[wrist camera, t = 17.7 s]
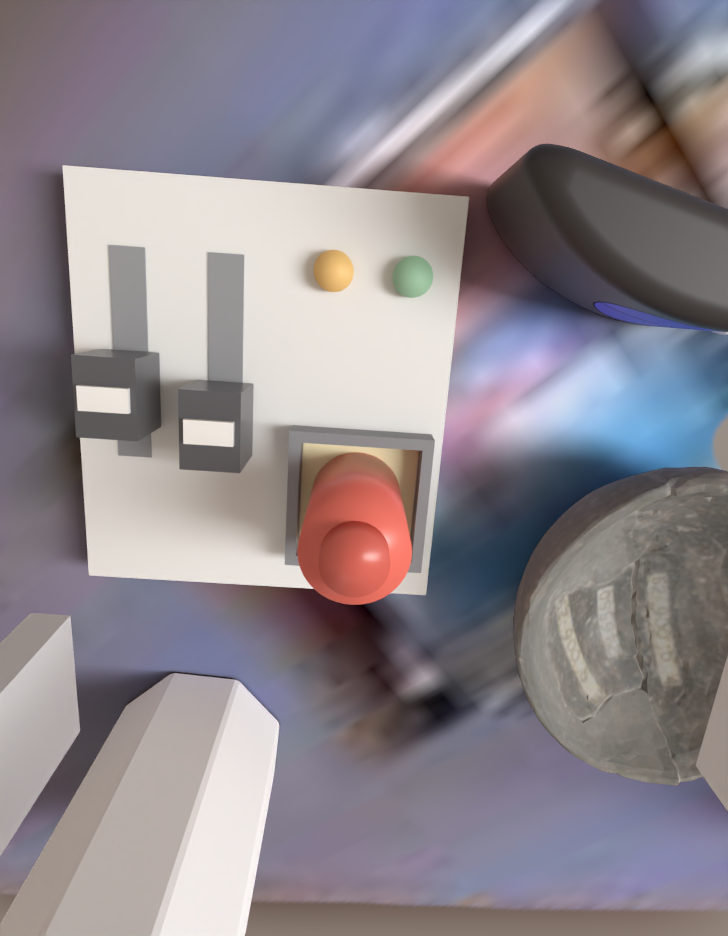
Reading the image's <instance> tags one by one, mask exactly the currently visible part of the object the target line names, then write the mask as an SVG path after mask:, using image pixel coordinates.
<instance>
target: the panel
mask: <svg viewBox="0 0 728 936" xmlns="http://www.w3.org/2000/svg"><path fill="white" fill-rule="evenodd" d="M63 181H64V196H65V212H66V227H67V242H68V258H69V273H70V289H71V304H72V320H73V335H74V351H75V354H77V353H82V352H88V351H93V350H98V349H112V350H126V351H141V352H155V353H159V361H160V400H161V427H160V428H158V429H157V430H155V431H154V432H152V433H151V434H149V435H147V436H146V437H144V438H143V439H141V440H139V441H123V440H108V439H92V438H80V444H81V459H82V475H83V490H84V506H85V521H86V537H87V552H88V567H89V575H91V576H108V577H125V578H142V579H159V580H176V581H193V582H210V583H226V584H243V585H260V586H277V587H294V588H311V589H314V588H313V587H312V586H311V585H310V584H309V583H308V582H307V580H306V579H305V577H304V576H303V573H302V571H301V569H300V566H299V562H298V556H297V548H298V541H299V537H300V533H301V529H302V526H303V522H304V518H305V514H306V510H307V507H308V503H309V499H310V495H311V491H312V487H313V484H314V480H315V478H316V476H317V474H318V472H319V471H320V470H321V468H322V467H323V466H324V465H325V464H326V463H327V462H329V461H330V460H331V459H333V458H335V457H337V456H339V455H342V454H346V453H353V452H360V453H366V454H370V455H373V456H375V457H377V458H379V459H381V460H382V461H383V462H385V463H386V464H387V465H388V466H389V467H390V468H391V469H392V471H393V472H394V474H395V476H396V478H397V480H398V483H399V487H400V492H401V497H402V501H403V506H404V511H405V516H406V520H407V525H408V530H409V535H410V540H411V545H412V559H411V564H410V567H409V570H408V572H407V574H406V576H405V578H404V579H403V581H402V582H401V584H400V585H399V586H398V587H397V588H396V589H395V590H394V591H392V592H391V593H396V594H412V595H426V590H427V581H428V572H429V563H430V553H431V544H432V535H433V526H434V517H435V507H436V498H437V489H438V480H439V471H440V461H441V452H442V443H443V434H444V425H445V415H446V406H447V397H448V388H449V379H450V369H451V360H452V351H453V342H454V333H455V323H456V314H457V305H458V296H459V287H460V277H461V268H462V259H463V250H464V241H465V231H466V222H467V213H468V204H469V197H466V196H453V195H440V194H427V193H414V192H401V191H388V190H375V189H362V188H349V187H336V186H323V185H310V184H297V183H284V182H271V181H258V180H245V179H232V178H219V177H206V176H193V175H180V174H167V173H154V172H141V171H128V170H115V169H103V168H90V167H77V166H64V165H63ZM196 380H208V381H223V382H238V383H252V384H254V388H253V445H252V457H251V458H250V459H249V461H248V462H247V464H246V465H245V467H244V468H243V470H242V471H241V472H240V473H229V472H213V471H198V470H182V469H179V418H178V389H179V388H181V387H184V386H186V385H188V384H190V383H192V382H194V381H196Z"/></svg>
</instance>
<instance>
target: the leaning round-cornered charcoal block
mask: <svg viewBox="0 0 728 936" xmlns="http://www.w3.org/2000/svg"><path fill="white" fill-rule="evenodd" d="M486 202H487V207H488V211H489V214H490V217H491V220H492V222H493V224H494V226H495V228H496V230H497V232H498V233H499V235H500V237H501V238H502V240H503V241H504V243H505V244H506V245H507V247H508V248H509V249H510V251H511V252H512V253H513V254H514V256H515V257H516V258H517V259H518V260H519V261H520V262H521V263H522V264H523V265H524V266H525V267H526V269H527V270H529V271H530V272H531V273H532V274H533V275H534V276H535V277H536V278H537V279H539V280H540V281H541V282H543V283H544V284H545V285H546V286H548V287H549V288H551V289H552V290H553V291H555V292H556V293H558V294H559V295H561V296H563V297H564V298H566V299H568V300H569V301H571V302H573V303H575V304H577V305H579V306H581V307H584V308H586V309H588V310H590V311H593V312H595V313H598V314H601V315H603V316H606V317H610V318H613V319H616V320H620V321H625V322H629V323H634V324H640V325H647V326H658V327H670V328H682V329H695V330H707V331H712V332H717V334H724V335H728V209H726V208H723V207H721V206H718V205H715V204H713V203H710V202H708V201H705V200H703V199H700V198H698V197H695V196H693V195H690V194H687V193H685V192H682V191H680V190H677V189H675V188H672V187H670V186H667V185H665V184H662V183H659V182H657V181H654V180H652V179H649V178H647V177H644V176H642V175H639V174H637V173H634V172H632V171H629V170H626V169H624V168H621V167H619V166H616V165H614V164H611V163H609V162H606V161H604V160H601V159H598V158H596V157H593V156H591V155H588V154H586V153H583V152H581V151H578V150H575V149H572V148H568V147H564V146H560V145H553V144H541V145H537V146H535V147H533V148H532V149H530V150H529V151H528V152H527V153H526V154H525V155H524V156H523V157H521V158H520V159H519V160H518V161H517V162H516V163H515V164H514V165H512V166H511V167H510V168H509V169H508V170H507V171H506V172H505V173H503V174H502V175H501V176H500V177H499V178H498V179H497V180H496V181H494V182H493V183H492V185H491V186H490V187H489V189H488V192H487V196H486Z"/></svg>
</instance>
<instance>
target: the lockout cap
mask: <svg viewBox="0 0 728 936" xmlns="http://www.w3.org/2000/svg"><path fill="white" fill-rule="evenodd" d="M297 556H298V562H299V566H300V569H301V571H302V573H303V576H304V577H305V579H306V580H307V582H308V583H309V584H310V585H311V586H312V587H313V588H314V589H315V590H316V591H317V592H318V593H320V594H321V595H323V596H324V597H326V598H328V599H330V600H333V601H335V602H339V603H343V604H352V605H358V604H366V603H371V602H374V601H377V600H379V599H381V598H383V597H385V596H387V595H388V594H390V593H391V592H392V591H394V590H395V589H396V588H397V587H398V586H399V585H400V584H401V582H402V581H403V579H404V578H405V576H406V574H407V572H408V570H409V567H410V564H411V559H412V545H411V540H410V535H409V530H408V525H407V520H406V516H405V511H404V506H403V501H402V497H401V492H400V487H399V483H398V480H397V478H396V476H395V474H394V472H393V471H392V469H391V468H390V467H389V466H388V465H387V464H386V463H385V462H383V461H382V460H381V459H379V458H377V457H375V456H373V455H370V454H366V453H360V452H353V453H346V454H342V455H339V456H337V457H335V458H333V459H331V460H330V461H329V462H327V463H326V464H325V465H324V466H323V467H322V468H321V470H320V471H319V472H318V474H317V476H316V478H315V480H314V484H313V487H312V491H311V495H310V499H309V503H308V507H307V510H306V514H305V518H304V522H303V526H302V529H301V533H300V537H299V541H298V548H297Z"/></svg>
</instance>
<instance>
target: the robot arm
mask: <svg viewBox="0 0 728 936" xmlns="http://www.w3.org/2000/svg"><path fill="white" fill-rule="evenodd" d="M79 732H80V724H79V713H78V701H77V689H76V678H75V666H74V654H73V642H72V631H71V619H70V616H69V615H52V614H36V613H30V614H29V615H28V616H27V617H26V618H25V619H24V620H23V621H22V622H21V623H20V624H19V625H18V626H17V627H16V628H15V629H14V630H13V631H12V632H11V633H10V634H9V635H8V636H7V637H6V638H5V639H4V640H3V641H2V642H1V643H0V856H1V854H2V853H3V851H4V850H5V848H6V846H7V845H8V843H9V842H10V840H11V839H12V837H13V835H14V834H15V832H16V831H17V829H18V828H19V826H20V825H21V823H22V821H23V820H24V818H25V817H26V815H27V814H28V812H29V810H30V809H31V807H32V806H33V804H34V803H35V801H36V799H37V798H38V796H39V795H40V793H41V792H42V790H43V789H44V787H45V785H46V784H47V782H48V781H49V779H50V778H51V776H52V774H53V773H54V771H55V770H56V768H57V767H58V765H59V764H60V762H61V760H62V759H63V757H64V756H65V754H66V753H67V751H68V749H69V748H70V746H71V745H72V743H73V742H74V740H75V739H76V737H77V735H78V734H79ZM696 767H697V768H698V770H699V771H700V773H701V774H702V775H703V777H704V778H705V780H706V781H707V783H708V784H709V785H710V787H711V788H712V790H713V791H714V793H715V794H716V795H717V797H718V798H719V800H720V801H721V803H722V804H723V805H724V807H725V808H726V810H727V811H728V656H727V659H726V663H725V666H724V670H723V673H722V677H721V680H720V683H719V687H718V690H717V694H716V697H715V701H714V704H713V707H712V711H711V714H710V718H709V721H708V725H707V728H706V732H705V735H704V738H703V742H702V745H701V749H700V752H699V756H698V759H697V763H696Z"/></svg>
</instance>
